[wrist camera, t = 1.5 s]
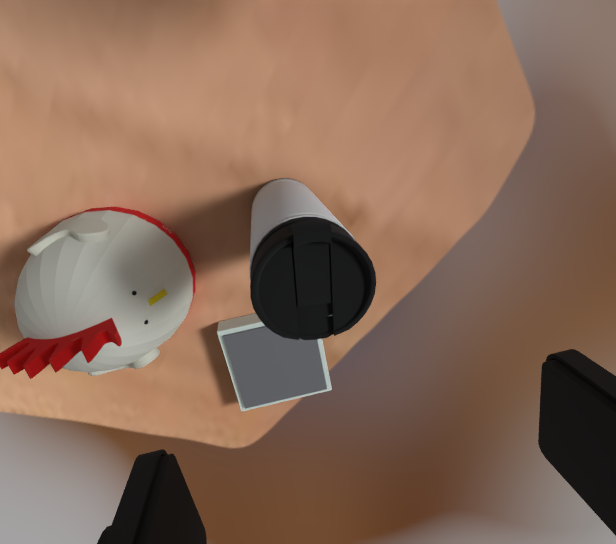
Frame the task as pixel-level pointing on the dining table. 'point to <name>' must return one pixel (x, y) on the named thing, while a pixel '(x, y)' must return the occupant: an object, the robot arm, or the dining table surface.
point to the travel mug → (305, 265)
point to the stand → (270, 363)
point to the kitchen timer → (100, 294)
